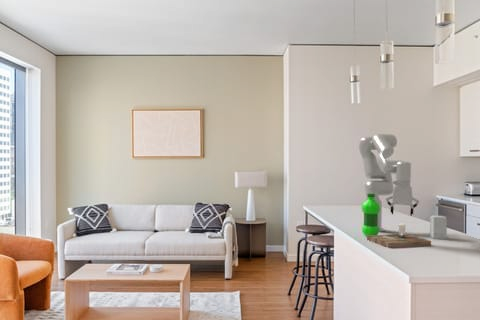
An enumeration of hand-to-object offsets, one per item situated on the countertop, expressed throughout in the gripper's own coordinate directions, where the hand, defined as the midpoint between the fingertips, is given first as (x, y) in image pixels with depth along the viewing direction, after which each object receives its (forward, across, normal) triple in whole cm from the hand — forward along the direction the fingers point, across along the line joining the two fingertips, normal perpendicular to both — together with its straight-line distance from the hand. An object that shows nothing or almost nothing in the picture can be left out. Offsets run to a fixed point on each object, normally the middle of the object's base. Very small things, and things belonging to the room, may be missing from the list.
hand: (401, 214), depth 228 cm
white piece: (+12, +1, -4) cm, 13 cm away
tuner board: (+15, -1, -5) cm, 16 cm away
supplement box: (+15, +20, +20) cm, 32 cm away
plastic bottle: (+16, -17, +7) cm, 24 cm away
